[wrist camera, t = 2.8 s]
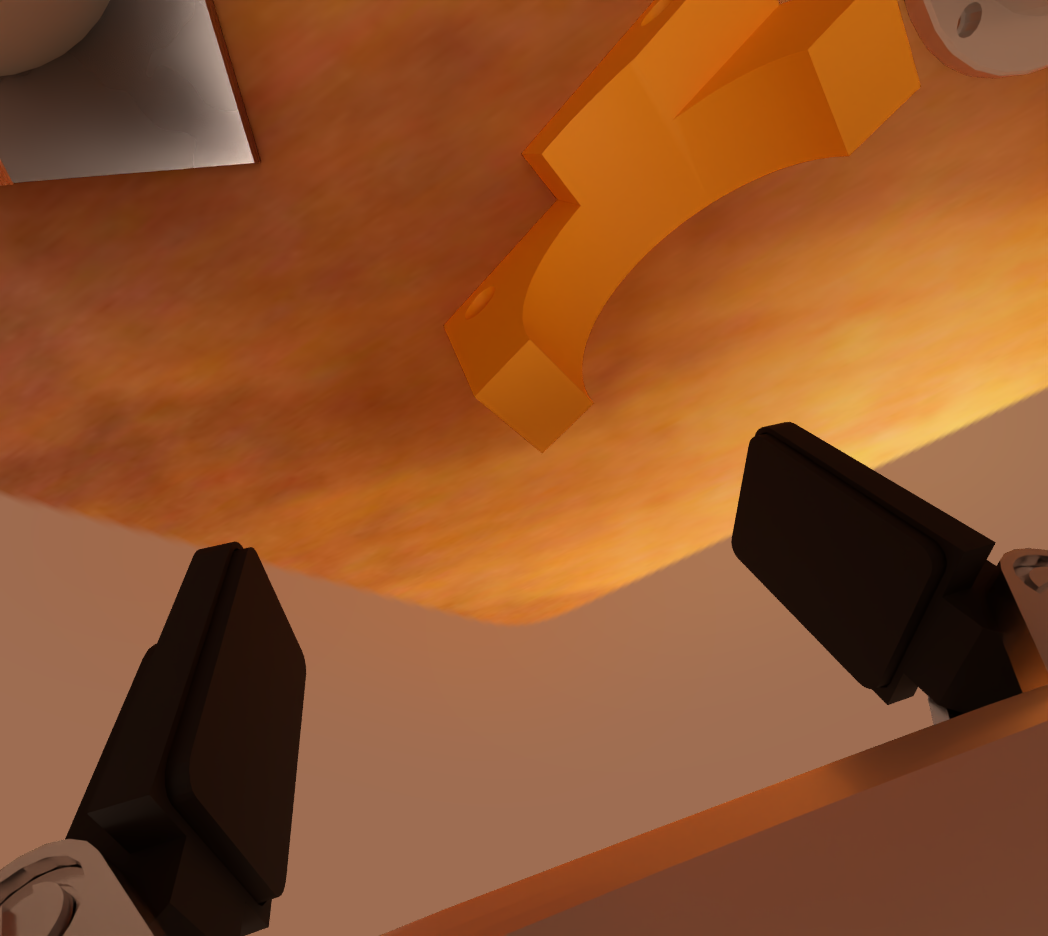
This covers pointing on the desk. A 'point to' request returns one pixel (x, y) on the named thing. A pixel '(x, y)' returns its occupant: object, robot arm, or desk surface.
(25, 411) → the desk surface
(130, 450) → the desk surface
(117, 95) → the cylinder with tray top
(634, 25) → the pipe clamp
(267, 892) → the robot arm
